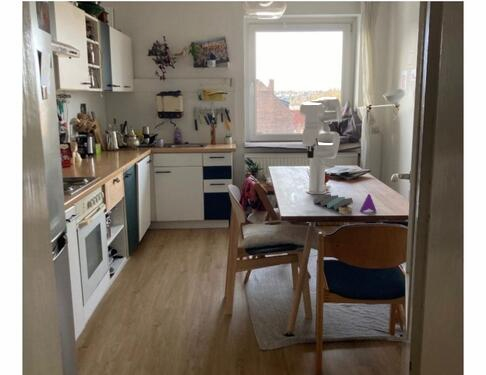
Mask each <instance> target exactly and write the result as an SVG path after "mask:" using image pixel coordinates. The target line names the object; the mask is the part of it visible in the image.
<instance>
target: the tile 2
mask: <svg viewBox="0 0 486 375" xmlns="http://www.w3.org/2000/svg"><path fill="white" fill-rule="evenodd" d="M338 197H339V195H338V194H337V195H331V196H330V197H328V198H326V199H325V200H323V201H321V202H320V203H319V204H320V206H321V207H325V206H326V205H327V203H329V202H331V201H332V200H334V199H336V198H338ZM326 207H327V206H326Z"/></svg>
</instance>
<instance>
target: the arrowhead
mask: <svg viewBox="0 0 486 375" xmlns="http://www.w3.org/2000/svg"><path fill="white" fill-rule="evenodd" d="M367 210H371V211H373V212H375V213H376V212H378V211H377V209H376V206H375V203H374V200H373V198H372V195H371V194H370V193H367V196H366V198H365V199H364V201H363V204H362V206H361V208H360V210H359V212H360V213H363V212H366V211H367Z"/></svg>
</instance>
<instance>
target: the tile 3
mask: <svg viewBox="0 0 486 375" xmlns="http://www.w3.org/2000/svg"><path fill="white" fill-rule="evenodd" d="M353 203H354V200H353V197H349V198H348V197H347V198H346V197H345V199H343V200H341V201H340V202H338V203H336V204H335V205H333V206H334V208H333V209H334V210H335V211H336V210H338V211H339V207H343V206H349V205H352V204H353Z"/></svg>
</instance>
